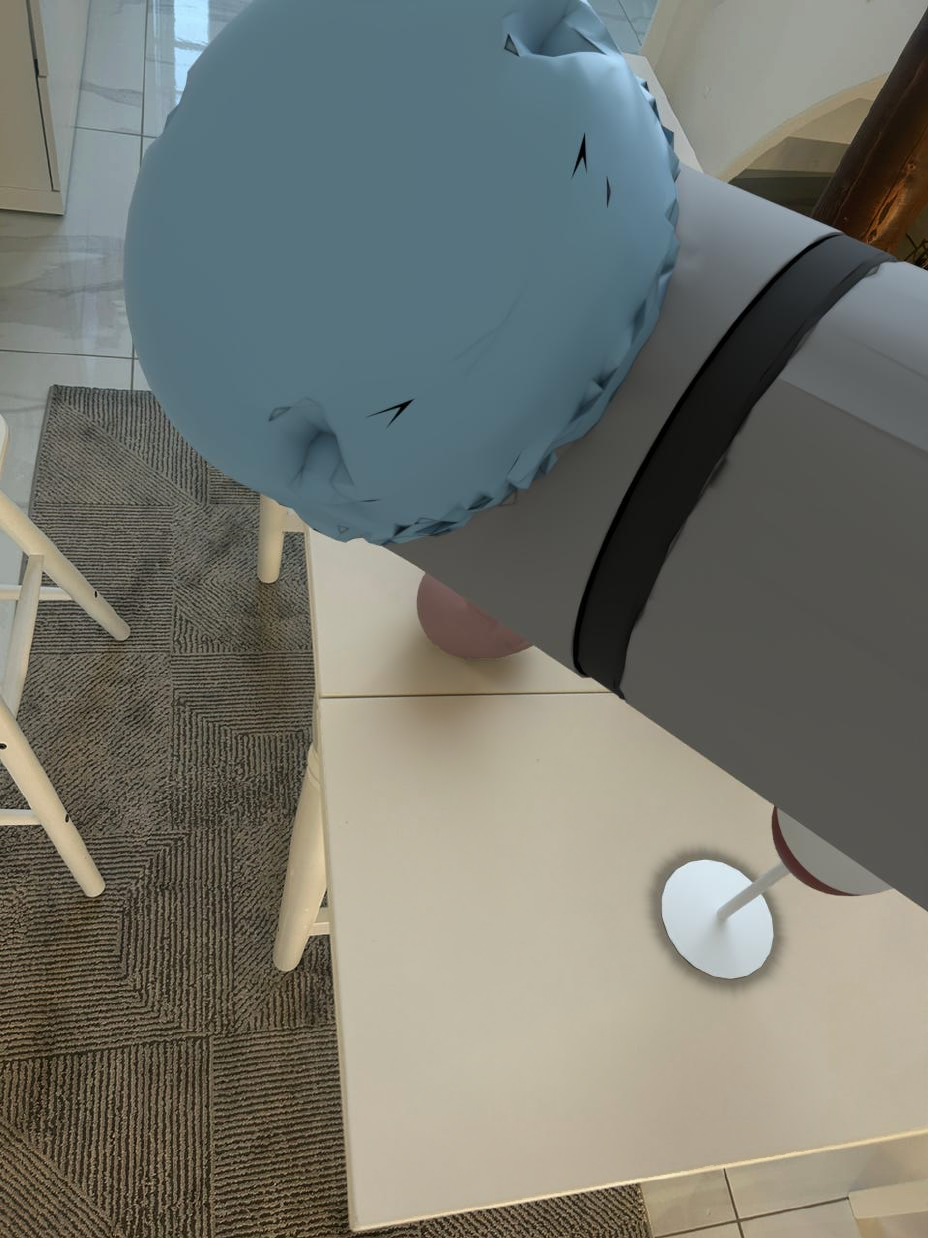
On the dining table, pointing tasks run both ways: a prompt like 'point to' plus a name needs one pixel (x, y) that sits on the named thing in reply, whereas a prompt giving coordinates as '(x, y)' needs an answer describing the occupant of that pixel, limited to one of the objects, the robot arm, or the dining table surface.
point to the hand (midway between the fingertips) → (718, 578)
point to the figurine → (462, 625)
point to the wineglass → (751, 899)
